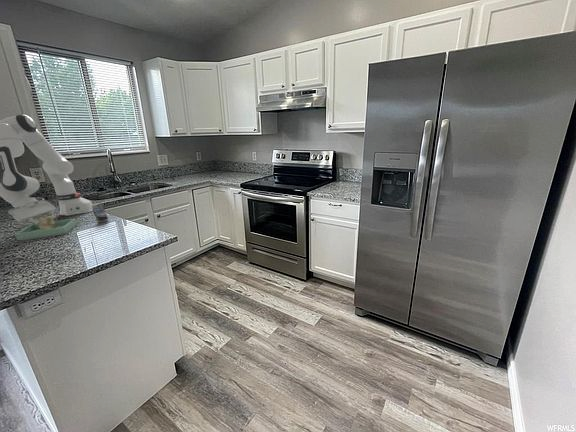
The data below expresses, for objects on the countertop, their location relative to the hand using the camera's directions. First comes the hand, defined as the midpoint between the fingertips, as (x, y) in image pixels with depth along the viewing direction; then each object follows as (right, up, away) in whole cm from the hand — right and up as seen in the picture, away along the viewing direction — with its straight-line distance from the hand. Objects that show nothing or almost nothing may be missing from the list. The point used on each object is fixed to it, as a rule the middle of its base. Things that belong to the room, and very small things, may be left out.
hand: (46, 220), depth 153 cm
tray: (0, -7, +2) cm, 7 cm away
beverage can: (+20, -1, +18) cm, 27 cm away
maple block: (0, -6, +2) cm, 6 cm away
